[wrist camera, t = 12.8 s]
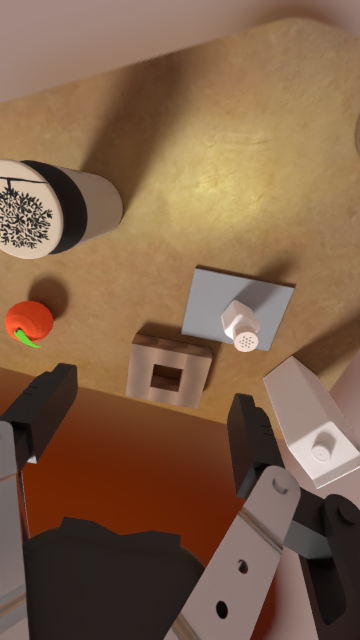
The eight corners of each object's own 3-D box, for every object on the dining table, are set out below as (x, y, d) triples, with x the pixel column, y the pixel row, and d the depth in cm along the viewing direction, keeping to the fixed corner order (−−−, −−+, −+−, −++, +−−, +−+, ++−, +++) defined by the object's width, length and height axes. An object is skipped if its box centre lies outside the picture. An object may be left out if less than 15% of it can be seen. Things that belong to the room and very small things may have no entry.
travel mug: (119, 240, 38) (62, 272, 22) (68, 226, 38) (-29, 248, 22) (127, 183, 35) (66, 171, 19) (70, 167, 34) (-42, 140, 18)
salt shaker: (233, 297, 40) (243, 323, 32) (253, 309, 41) (268, 338, 33) (219, 315, 42) (225, 345, 34) (238, 327, 43) (248, 359, 34)
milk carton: (316, 375, 47) (384, 476, 30) (287, 396, 50) (333, 500, 33) (291, 354, 45) (348, 449, 28) (262, 377, 48) (297, 476, 31)
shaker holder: (211, 347, 46) (212, 358, 43) (197, 396, 51) (197, 409, 48) (136, 333, 45) (131, 343, 42) (129, 383, 51) (125, 395, 47)
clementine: (71, 326, 46) (51, 347, 39) (42, 339, 47) (18, 361, 41) (44, 288, 43) (17, 304, 36) (14, 304, 44) (-17, 321, 38)
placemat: (293, 287, 40) (294, 288, 39) (267, 349, 45) (268, 350, 44) (195, 267, 39) (195, 268, 39) (181, 332, 45) (180, 334, 44)
